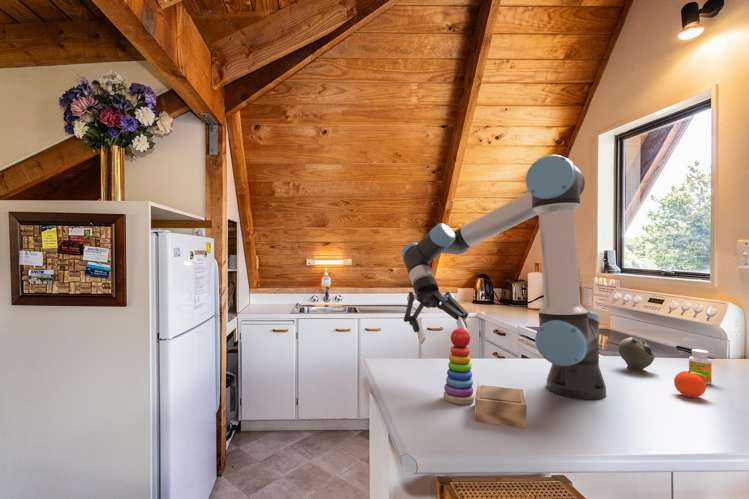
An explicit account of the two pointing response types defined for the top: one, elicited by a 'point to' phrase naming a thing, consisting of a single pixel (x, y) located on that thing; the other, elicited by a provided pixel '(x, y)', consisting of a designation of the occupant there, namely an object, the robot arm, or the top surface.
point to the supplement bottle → (701, 364)
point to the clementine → (690, 384)
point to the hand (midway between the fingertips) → (445, 339)
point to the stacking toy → (459, 370)
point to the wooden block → (500, 406)
